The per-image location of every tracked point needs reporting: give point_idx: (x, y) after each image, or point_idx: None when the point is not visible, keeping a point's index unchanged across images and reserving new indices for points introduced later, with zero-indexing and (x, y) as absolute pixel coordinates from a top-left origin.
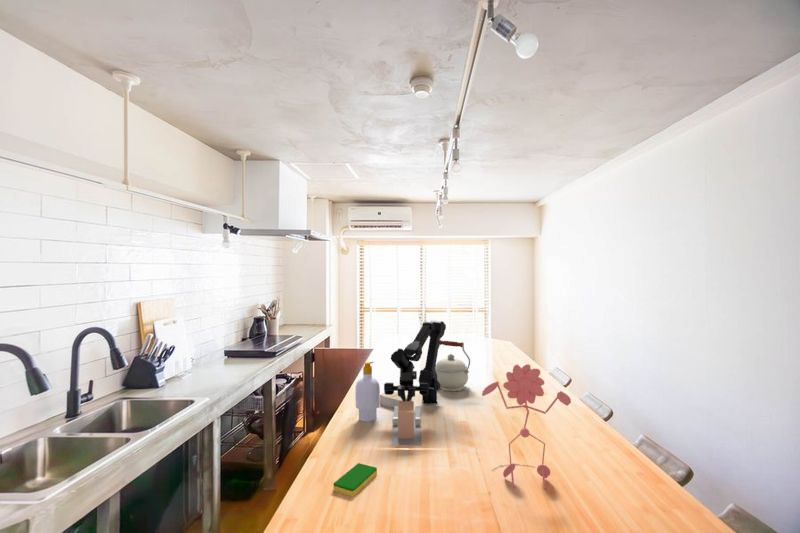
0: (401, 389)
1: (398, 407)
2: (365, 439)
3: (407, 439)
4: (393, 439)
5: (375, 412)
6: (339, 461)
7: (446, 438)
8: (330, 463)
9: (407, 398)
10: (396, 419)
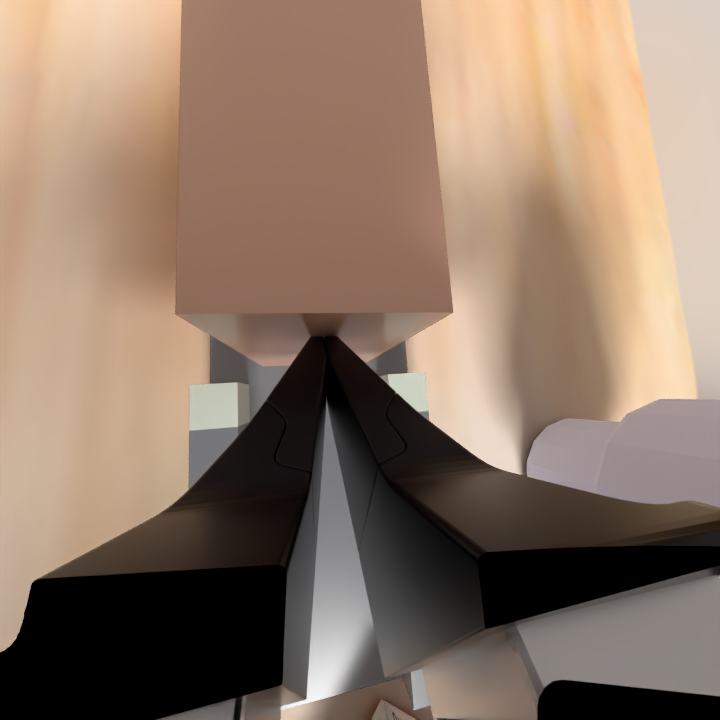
0: (631, 527)
1: (424, 54)
2: (514, 206)
3: None
4: None
5: (571, 471)
6: (556, 31)
7: (21, 193)
8: (579, 24)
9: (310, 404)
10: (397, 374)
